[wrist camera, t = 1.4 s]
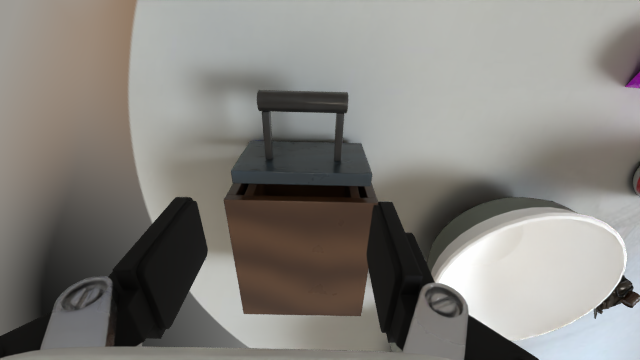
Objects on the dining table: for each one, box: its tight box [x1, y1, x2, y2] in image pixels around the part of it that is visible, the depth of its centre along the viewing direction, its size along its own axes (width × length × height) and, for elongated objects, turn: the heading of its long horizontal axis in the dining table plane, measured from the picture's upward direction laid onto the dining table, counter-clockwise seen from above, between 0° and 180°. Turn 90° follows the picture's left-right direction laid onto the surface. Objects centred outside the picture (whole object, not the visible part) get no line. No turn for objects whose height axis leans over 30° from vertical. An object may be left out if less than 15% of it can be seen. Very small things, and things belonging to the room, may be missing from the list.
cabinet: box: [224, 183, 378, 316], centre depth 29 cm, size 15×13×9 cm
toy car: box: [594, 275, 640, 319], centre depth 37 cm, size 6×12×4 cm, turn 112°
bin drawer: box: [231, 90, 372, 198], centre depth 27 cm, size 19×11×7 cm, turn 179°
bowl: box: [427, 197, 627, 341], centre depth 31 cm, size 19×19×8 cm
